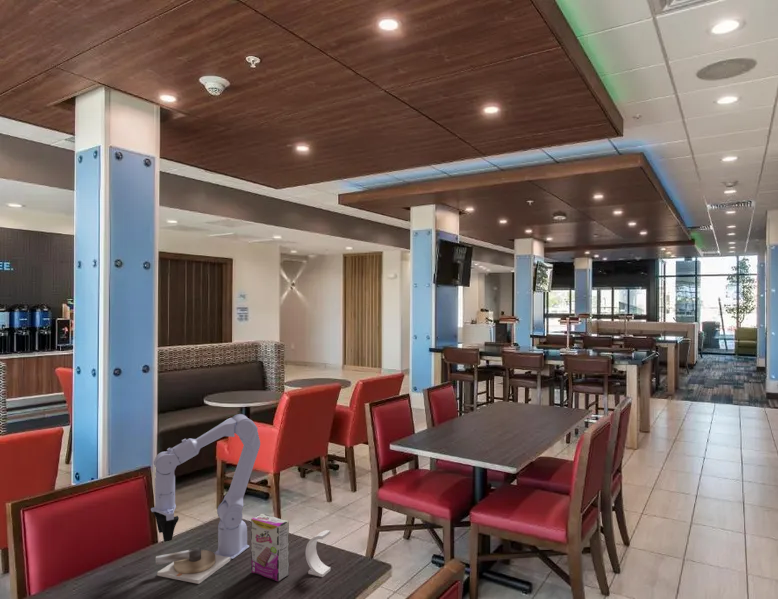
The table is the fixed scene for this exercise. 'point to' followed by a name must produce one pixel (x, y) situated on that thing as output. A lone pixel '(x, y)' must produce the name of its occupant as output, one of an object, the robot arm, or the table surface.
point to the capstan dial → (189, 560)
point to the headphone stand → (316, 556)
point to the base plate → (193, 577)
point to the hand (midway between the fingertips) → (165, 536)
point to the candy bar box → (270, 547)
